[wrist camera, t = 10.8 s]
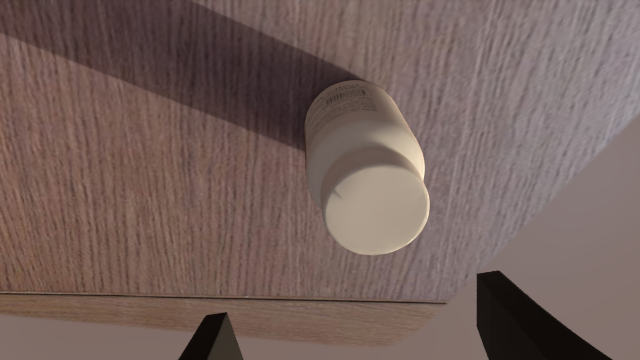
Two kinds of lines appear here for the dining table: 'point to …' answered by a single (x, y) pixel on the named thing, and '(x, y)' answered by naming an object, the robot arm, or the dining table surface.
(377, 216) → the pill bottle
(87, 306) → the dining table surface
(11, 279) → the dining table surface
